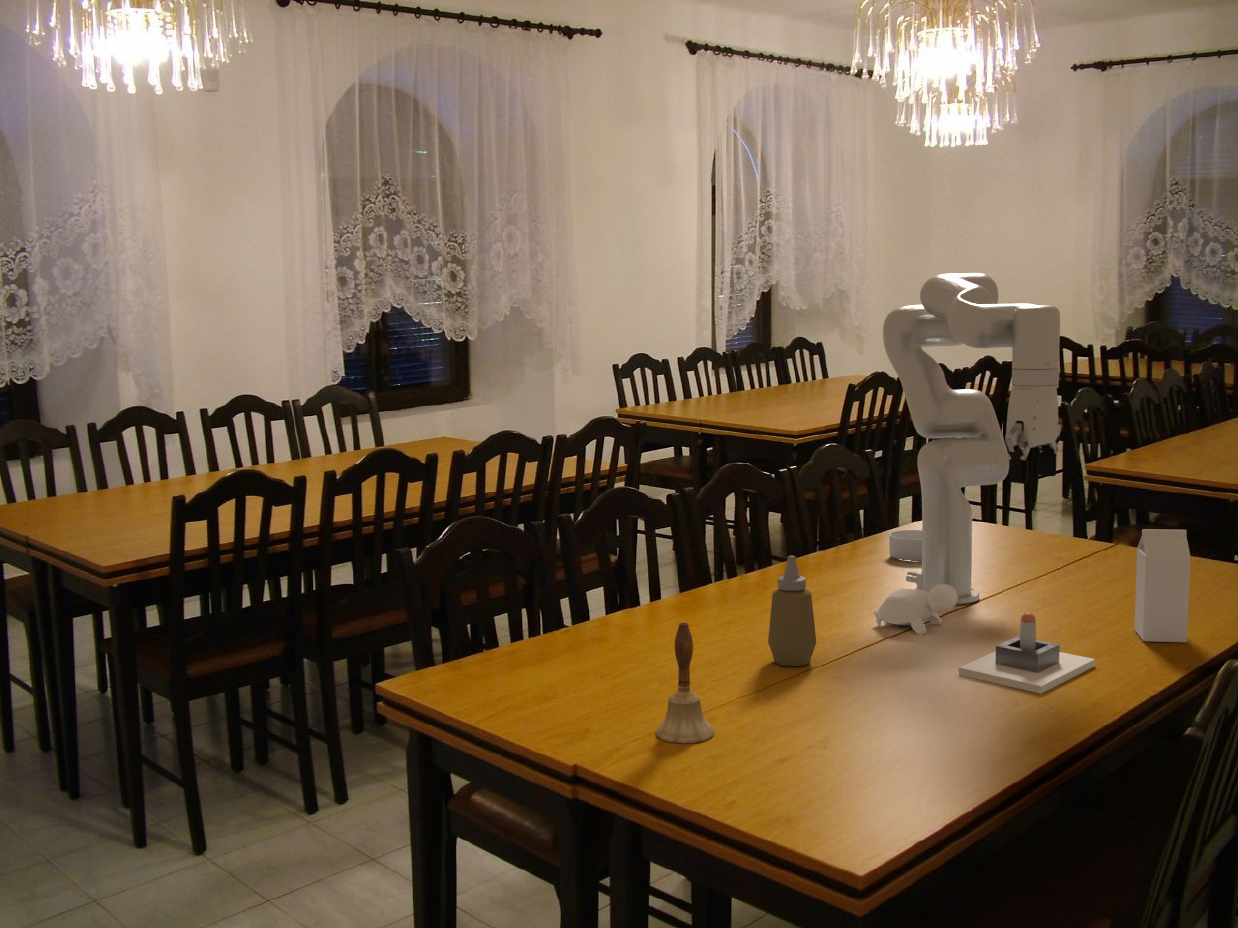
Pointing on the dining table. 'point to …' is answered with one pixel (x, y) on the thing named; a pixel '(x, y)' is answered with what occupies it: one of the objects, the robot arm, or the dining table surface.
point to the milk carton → (1162, 586)
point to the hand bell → (684, 700)
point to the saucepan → (906, 544)
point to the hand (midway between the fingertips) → (1032, 479)
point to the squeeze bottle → (792, 619)
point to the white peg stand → (1022, 678)
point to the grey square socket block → (1027, 655)
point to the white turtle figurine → (916, 606)
